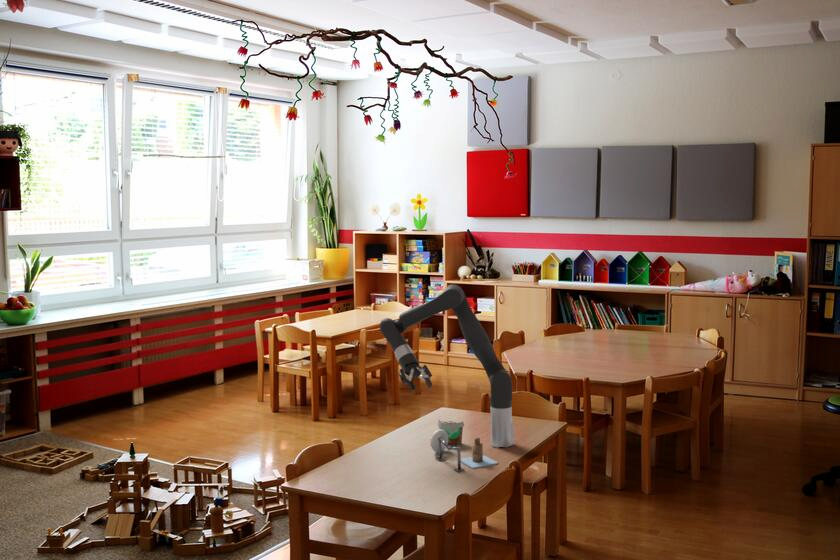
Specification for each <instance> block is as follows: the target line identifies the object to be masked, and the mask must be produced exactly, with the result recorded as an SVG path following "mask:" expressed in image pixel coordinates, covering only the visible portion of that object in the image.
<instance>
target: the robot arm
mask: <svg viewBox="0 0 840 560" xmlns="http://www.w3.org/2000/svg"><path fill="white" fill-rule="evenodd" d="M450 310H452V311H453V313H454V314H455V316H456V318H457V320H458V324H459V327H460V330H461V333H462V336H463V338H464V340H465V342H466V344H467V346H468V347H469V349H470V350H471V352H472V353H473V354H474V356H475V357H476V359H478V361H479V362H480V364H481V365H482V367H483V370H484V372H485V373H486V376H487V378H488V381H489V384H490V406H489V407H490V408H489V409H490V410H489V411H490V445H491V447H494V446H495V447H494V448H499V447H505V448H509V446H510V447H512V446H514V445H515V423H514V422H513V417H512V416H513V414H512V413H513V409H512V402H513V380H512V377H511V375H510V373H509V372H508V371H507V370H506V368H505V367H504V365H503V364H502V362H501V361H500V360H499V358H498V357H497V355H496V351H495V349H494V347H493V344H492V342H491V339H490V338H489V336H488V334H487V332H486V330H485V329H484V327H483V325H482V324H481V322H480V321H479V319H478V317H477V316H476V314H475V313H474V312H473V310H472V307H471V306H470V303H469V301H468V299H467V297H466V294H465V291H464V290H463V289H462V287H461V286H459V285H457V284H450V285H448V286H446V287H445V288H444V290H443V291H442V292H441V293H440V294H438V296H436V297H435V298H432V299H431V300H429V301H427V302H425V303H421V304H419V305H416V306H414V307H411V308H409V309H407V310H405V311H403V312H401V313H400V314H399V316H398V318H397V320H393V319H392V318H389V317H385V318H383V319H381V321H380V323H379V330H380V332H381V334H382V335H383V337H384V338H385V340H386V341H387V342H388V343H389V345H390V347H391V349H392V352H393V353H394V356H395V359H396V360H397V362H398V364H399V365H400V369H399V370H398V372H397V374H398V377H399V379H400V381H401V383H402V384H403V385H404V384H406V385H408V388H409V389H410V391H412V392H414V391H416V386H415V383H414V382H413V381H412V379H415V378H416V379H417V378H418V379H420V380H423V381H424V382H425V385H426V386H427V389H430V388H432V386H433V383H432V381H431V377H432V376H433V373H431V371H430V369H429V368H428V366H427V365H426V364H424V365H423V366H420V365H419V360H418V359H417V356H416V355H415V353H414V352H413V349H412V348H411V347H410V345H409V343H408V341H407V340H406V337H404V335H402V334H403V333H404V332H405V331H406V330H408V329H409V328H410V327H412V326H415V325H417V324H419V323H421V322H423V321H424V320H426V319H428V318H430V317H433V316H435V315H437V314H440V313H442V312H446V311H450Z"/></svg>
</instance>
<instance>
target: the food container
mask: <svg viewBox="0 0 840 560" xmlns="http://www.w3.org/2000/svg"><path fill="white" fill-rule="evenodd" d="M436 425H437V426H438V429H442V430H445V431H446V433H447V435H448V445H453V446H458V445H461V444H462V441H463V429H464V427H465V423H464V421H461V422H460V421H459V422H455V421H441V420H440V419H438V421H437V424H436Z"/></svg>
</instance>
